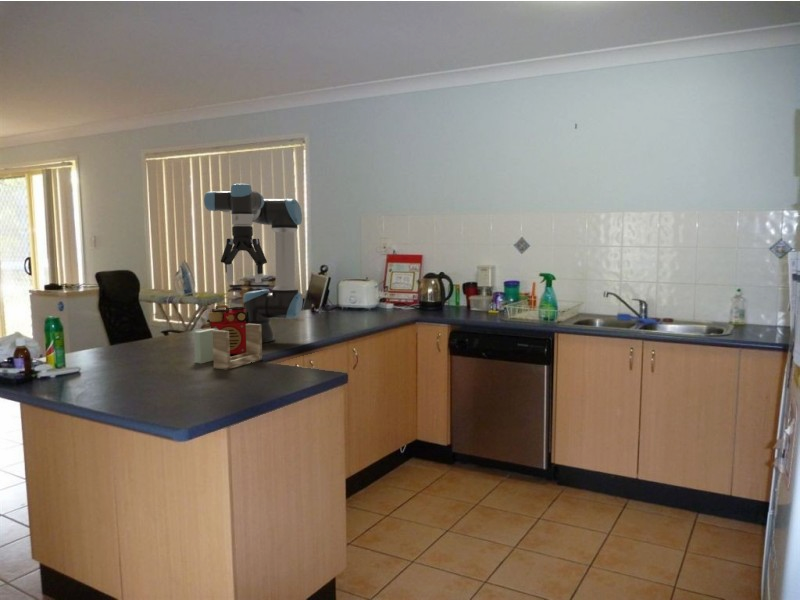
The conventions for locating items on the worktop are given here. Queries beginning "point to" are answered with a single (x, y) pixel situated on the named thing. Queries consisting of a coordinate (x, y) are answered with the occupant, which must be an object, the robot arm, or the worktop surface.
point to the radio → (231, 325)
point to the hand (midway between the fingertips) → (244, 282)
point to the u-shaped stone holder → (252, 354)
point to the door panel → (203, 345)
